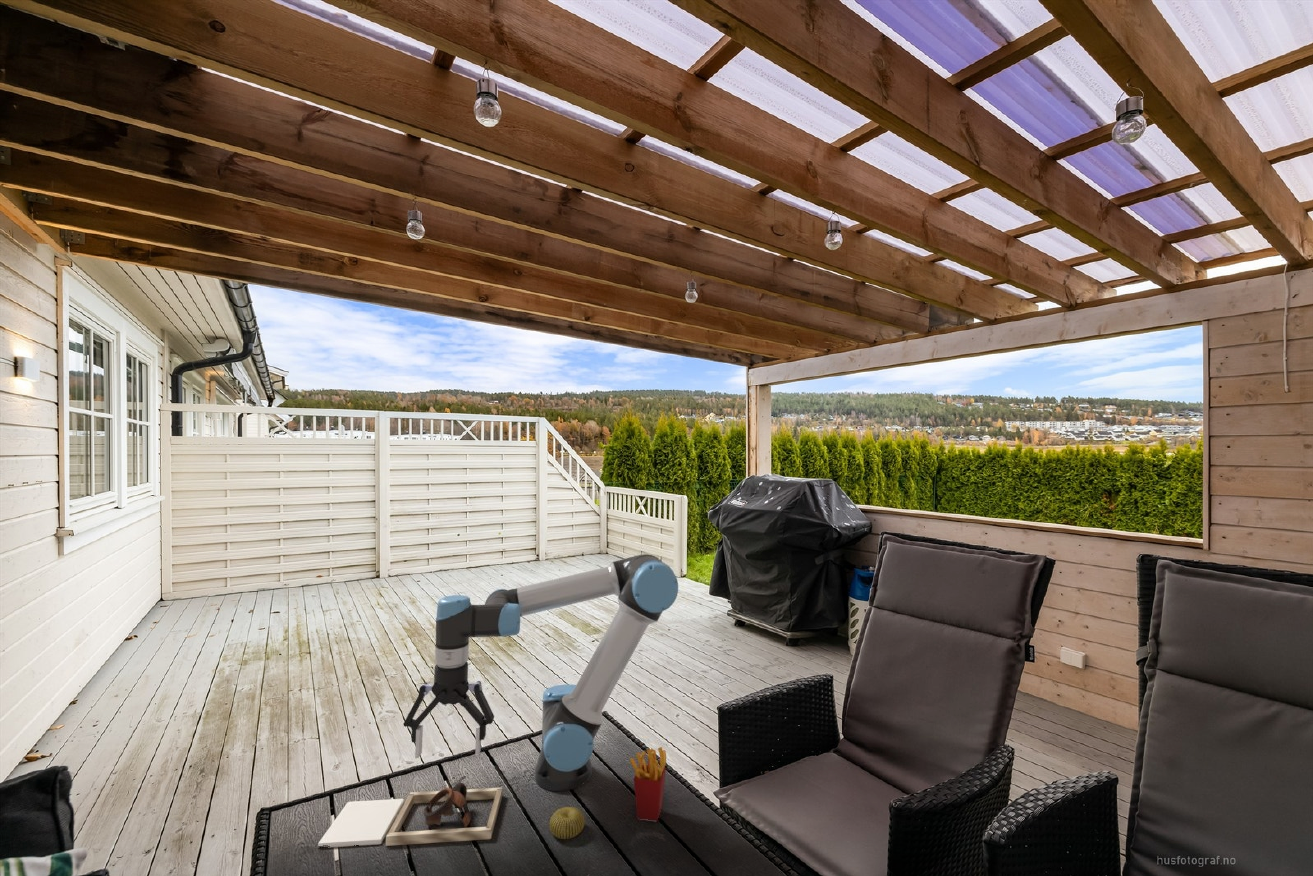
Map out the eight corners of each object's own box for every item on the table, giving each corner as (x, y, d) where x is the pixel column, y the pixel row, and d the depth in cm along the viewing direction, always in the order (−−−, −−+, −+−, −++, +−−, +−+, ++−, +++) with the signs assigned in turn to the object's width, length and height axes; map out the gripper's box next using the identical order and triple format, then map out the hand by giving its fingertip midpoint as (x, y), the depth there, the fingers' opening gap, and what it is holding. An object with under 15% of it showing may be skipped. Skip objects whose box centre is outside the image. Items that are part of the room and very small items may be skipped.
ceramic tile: (403, 802, 139) (403, 798, 139) (380, 844, 124) (380, 839, 124) (347, 806, 137) (348, 801, 137) (317, 848, 122) (318, 843, 122)
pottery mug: (465, 838, 127) (446, 810, 125) (430, 852, 128) (411, 824, 127) (484, 793, 138) (467, 768, 137) (452, 807, 140) (435, 781, 138)
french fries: (660, 826, 131) (661, 760, 131) (626, 820, 132) (626, 755, 133) (668, 803, 139) (668, 741, 140) (635, 799, 141) (636, 737, 142)
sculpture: (583, 801, 134) (586, 822, 126) (583, 818, 133) (585, 840, 126) (549, 805, 132) (549, 826, 124) (549, 822, 132) (549, 845, 124)
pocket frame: (502, 795, 142) (502, 787, 142) (490, 839, 126) (491, 829, 126) (409, 800, 139) (410, 792, 140) (385, 845, 123) (386, 836, 123)
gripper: (391, 670, 129) (387, 765, 128) (502, 667, 132) (499, 760, 131) (402, 658, 136) (398, 748, 135) (507, 656, 139) (504, 744, 138)
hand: (448, 754), depth 133 cm, fingers open, 13 cm apart
